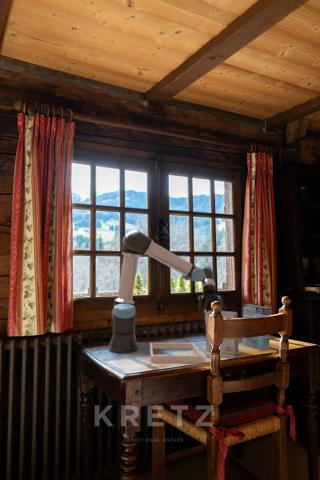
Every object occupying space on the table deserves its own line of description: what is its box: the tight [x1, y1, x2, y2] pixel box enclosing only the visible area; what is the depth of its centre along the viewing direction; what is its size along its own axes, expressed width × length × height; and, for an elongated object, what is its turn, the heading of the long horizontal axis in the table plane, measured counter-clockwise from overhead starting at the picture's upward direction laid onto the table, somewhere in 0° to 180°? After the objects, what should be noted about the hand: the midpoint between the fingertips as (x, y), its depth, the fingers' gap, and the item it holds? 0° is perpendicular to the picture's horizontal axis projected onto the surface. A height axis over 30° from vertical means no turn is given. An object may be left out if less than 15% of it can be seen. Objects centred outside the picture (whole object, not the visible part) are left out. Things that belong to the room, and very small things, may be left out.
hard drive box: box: [204, 310, 239, 355], centre depth 188 cm, size 16×8×20 cm, turn 64°
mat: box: [200, 345, 236, 358], centre depth 190 cm, size 14×20×1 cm
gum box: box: [242, 303, 271, 351], centre depth 205 cm, size 20×5×23 cm, turn 20°
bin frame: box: [149, 342, 203, 364], centre depth 183 cm, size 24×28×3 cm
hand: (214, 321), depth 192 cm, fingers open, 8 cm apart
